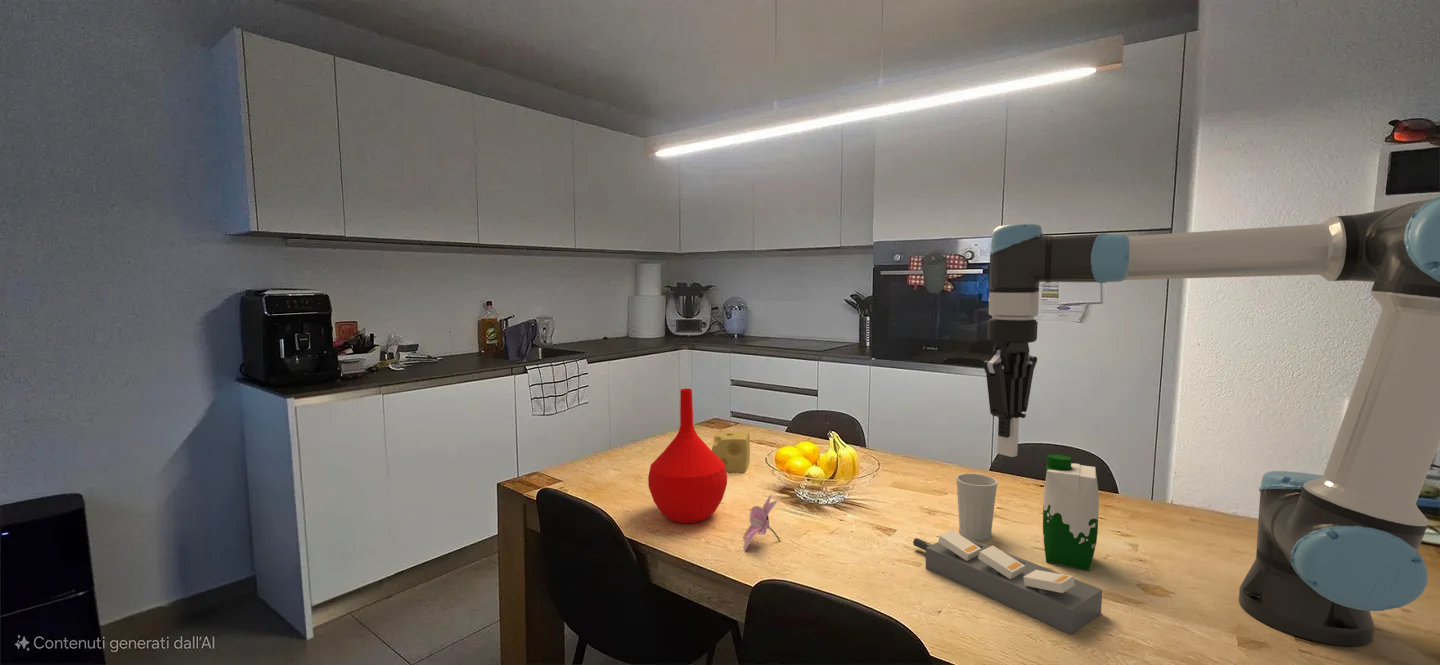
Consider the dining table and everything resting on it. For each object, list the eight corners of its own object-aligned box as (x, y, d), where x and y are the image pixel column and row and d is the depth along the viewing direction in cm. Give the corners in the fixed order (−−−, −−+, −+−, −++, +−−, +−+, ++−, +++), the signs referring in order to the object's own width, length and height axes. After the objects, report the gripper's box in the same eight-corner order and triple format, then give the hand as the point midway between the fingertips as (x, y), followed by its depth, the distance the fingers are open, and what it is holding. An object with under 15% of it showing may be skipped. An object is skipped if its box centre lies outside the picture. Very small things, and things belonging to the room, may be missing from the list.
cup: (1000, 543, 121) (1001, 486, 120) (958, 540, 122) (960, 484, 121) (990, 527, 128) (992, 474, 127) (951, 525, 130) (953, 472, 129)
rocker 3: (1075, 585, 94) (1073, 575, 94) (1062, 592, 91) (1060, 583, 91) (1037, 578, 99) (1035, 569, 99) (1024, 585, 96) (1023, 576, 96)
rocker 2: (1023, 572, 101) (1025, 565, 100) (1010, 579, 98) (1012, 572, 98) (990, 552, 105) (992, 545, 105) (978, 558, 103) (979, 551, 103)
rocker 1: (979, 554, 107) (981, 547, 107) (966, 561, 105) (968, 554, 104) (951, 536, 112) (952, 529, 111) (938, 542, 110) (939, 535, 109)
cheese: (711, 472, 168) (710, 438, 167) (717, 461, 179) (717, 428, 178) (747, 474, 167) (746, 439, 166) (751, 462, 177) (751, 429, 176)
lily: (756, 530, 131) (736, 496, 129) (803, 518, 126) (782, 483, 124) (743, 570, 121) (720, 534, 119) (793, 559, 116) (770, 521, 114)
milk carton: (1043, 545, 120) (1046, 449, 118) (1095, 555, 115) (1100, 455, 113) (1040, 563, 112) (1043, 460, 111) (1096, 575, 108) (1101, 468, 106)
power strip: (1101, 613, 95) (1102, 586, 95) (1071, 634, 90) (1072, 606, 89) (931, 542, 122) (931, 521, 121) (899, 555, 116) (899, 533, 116)
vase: (681, 539, 125) (678, 401, 122) (633, 514, 138) (630, 389, 136) (744, 516, 137) (742, 389, 134) (694, 495, 150) (692, 380, 148)
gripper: (1011, 315, 106) (1006, 443, 108) (969, 318, 99) (965, 455, 101) (1055, 317, 100) (1048, 453, 102) (1013, 320, 92) (1007, 467, 95)
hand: (1007, 454), depth 101 cm, fingers closed
